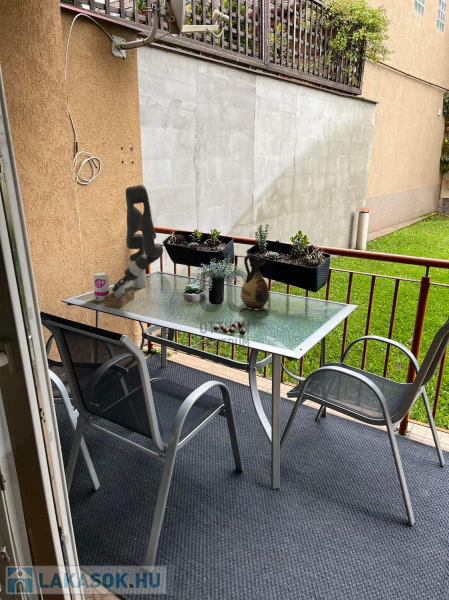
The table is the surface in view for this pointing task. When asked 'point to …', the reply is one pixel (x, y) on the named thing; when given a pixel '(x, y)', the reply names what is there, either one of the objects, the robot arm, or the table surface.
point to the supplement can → (101, 285)
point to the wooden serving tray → (123, 300)
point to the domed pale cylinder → (119, 292)
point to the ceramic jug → (254, 285)
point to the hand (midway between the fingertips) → (117, 288)
